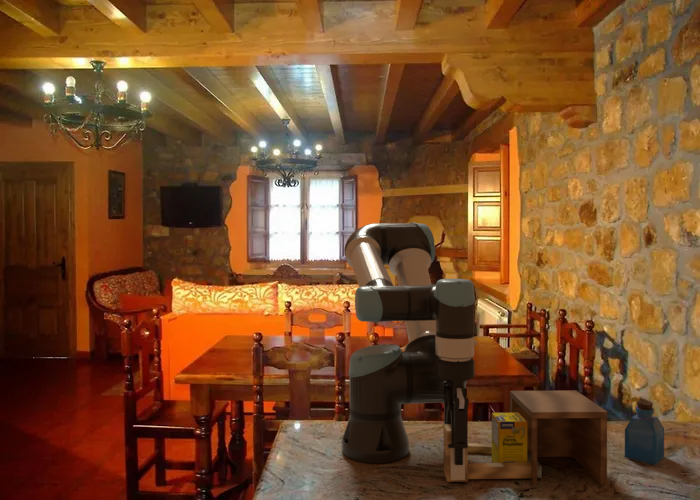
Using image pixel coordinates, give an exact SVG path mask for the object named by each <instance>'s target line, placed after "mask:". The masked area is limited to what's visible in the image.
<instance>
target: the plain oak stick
mask: <svg viewBox="0 0 700 500" xmlns="http://www.w3.org/2000/svg"><path fill="white" fill-rule="evenodd" d="M469 453H472V454H486V455H487V454H491V455H492V443H491V444H490V443H489V444H488V443H470V442H468V454H469Z"/></svg>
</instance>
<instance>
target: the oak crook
mask: <svg viewBox="0 0 700 500" xmlns="http://www.w3.org/2000/svg"><path fill="white" fill-rule="evenodd" d="M442 425H443V426H442V427H443V475H444V477H445V479H446V482H447V483H451V482H453V483H454V482H456V483H457V482H458V483H460V482H461V483H463V482H464V483H465V482H469V480H486V479H487V480H488V479H489V480H491V479H492V480H493V479H494V480H495V479H500V480H501V479H532V454H531V453H530V451H529V450H528V449H527V462H518V463H492V462H476V463H475V462H472V463H471V462H470V463H468V462H469V461H468V460H469V459H468V457H469V456H468V454H469V452H468V447H467V448H465V480H451V479H450V448H448V444H451V443H452V437H451V424H444V423H443V424H442ZM542 469H543V466H542V464H540V462H539V461H538V460H537V479H542V478H543V477H542V476H543V475H542V474H543V473H542Z"/></svg>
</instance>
